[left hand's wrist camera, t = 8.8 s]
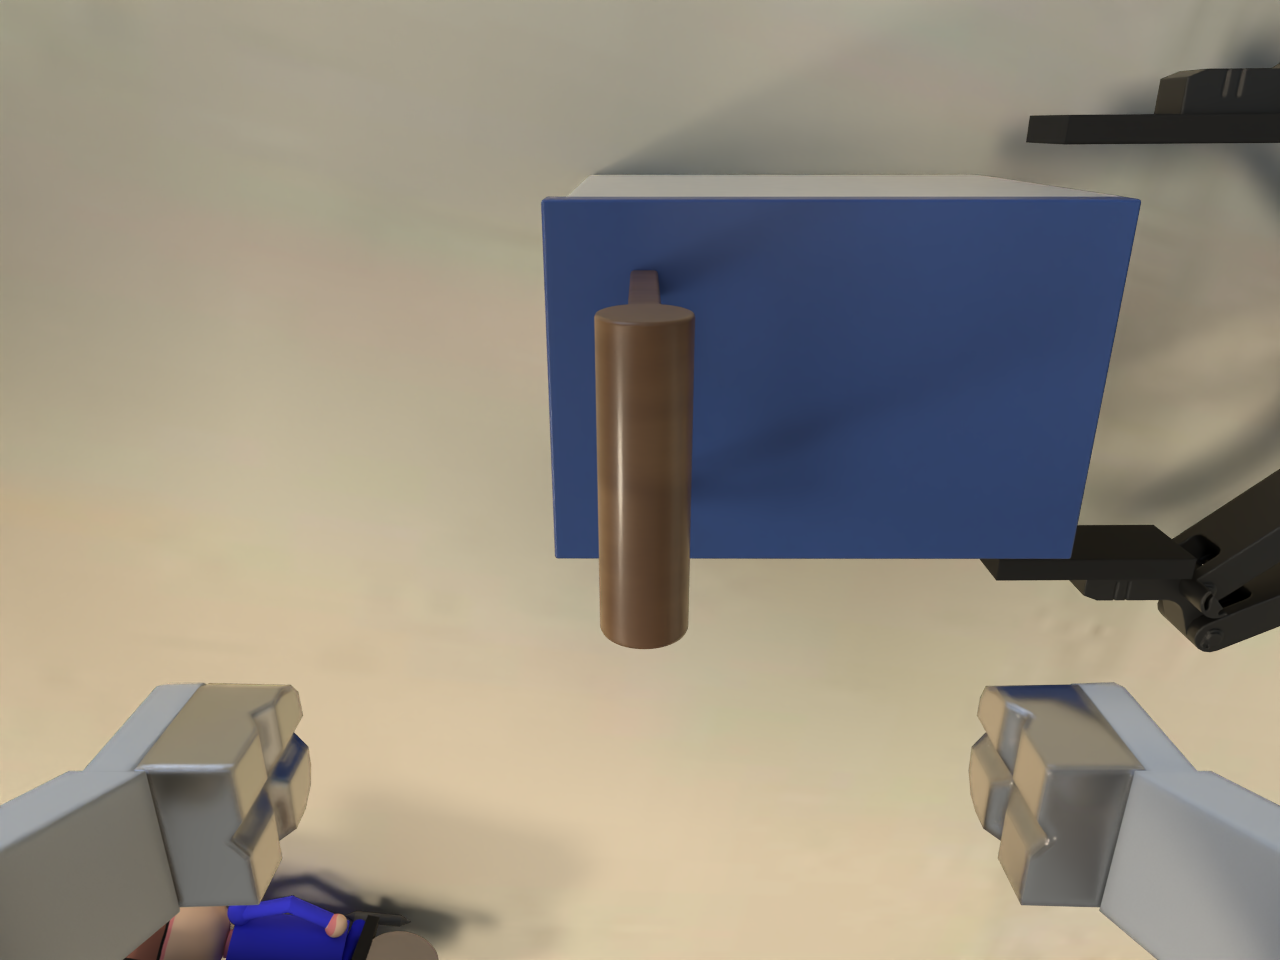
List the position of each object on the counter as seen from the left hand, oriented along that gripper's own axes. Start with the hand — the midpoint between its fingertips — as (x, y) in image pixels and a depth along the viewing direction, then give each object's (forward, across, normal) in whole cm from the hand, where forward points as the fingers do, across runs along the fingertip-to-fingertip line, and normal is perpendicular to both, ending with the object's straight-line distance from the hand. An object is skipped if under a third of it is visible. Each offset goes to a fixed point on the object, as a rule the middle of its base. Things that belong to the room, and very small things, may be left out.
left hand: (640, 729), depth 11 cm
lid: (+15, -5, 0) cm, 16 cm away
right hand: (+19, -12, 0) cm, 22 cm away
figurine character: (+26, +18, +31) cm, 44 cm away
